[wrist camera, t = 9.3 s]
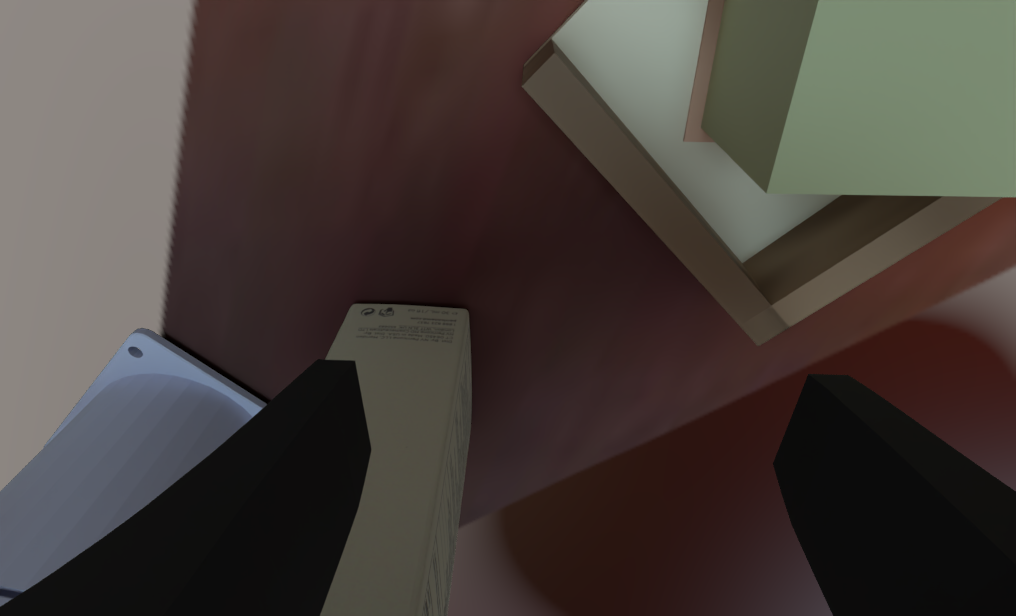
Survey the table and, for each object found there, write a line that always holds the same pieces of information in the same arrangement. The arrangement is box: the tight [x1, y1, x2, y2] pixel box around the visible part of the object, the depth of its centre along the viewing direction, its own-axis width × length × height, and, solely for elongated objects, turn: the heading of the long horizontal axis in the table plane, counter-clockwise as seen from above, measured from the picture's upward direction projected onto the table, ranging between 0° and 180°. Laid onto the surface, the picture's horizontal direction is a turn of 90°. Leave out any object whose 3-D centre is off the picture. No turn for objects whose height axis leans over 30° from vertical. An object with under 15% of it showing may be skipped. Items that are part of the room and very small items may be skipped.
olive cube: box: [701, 0, 1016, 197], centre depth 11 cm, size 5×5×5 cm
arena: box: [522, 0, 1002, 346], centre depth 13 cm, size 11×10×3 cm
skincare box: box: [320, 304, 472, 616], centre depth 16 cm, size 6×4×12 cm
